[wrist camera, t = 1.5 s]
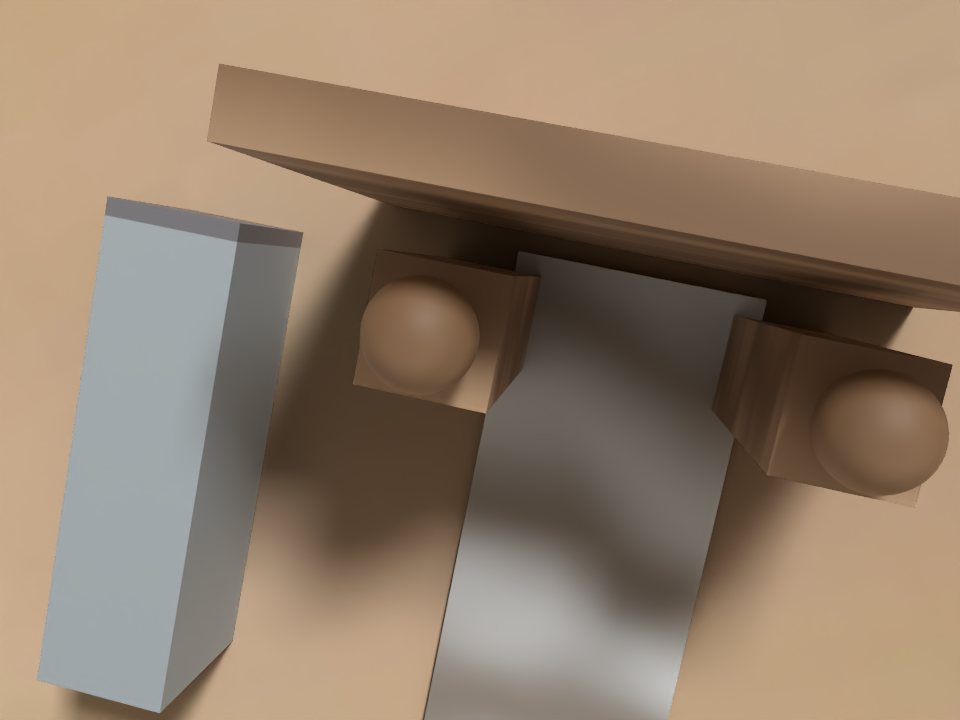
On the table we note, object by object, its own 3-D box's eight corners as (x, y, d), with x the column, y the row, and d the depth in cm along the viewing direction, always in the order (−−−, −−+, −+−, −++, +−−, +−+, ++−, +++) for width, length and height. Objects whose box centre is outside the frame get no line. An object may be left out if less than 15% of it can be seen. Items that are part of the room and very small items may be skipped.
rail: (232, 641, 36) (159, 713, 30) (128, 614, 36) (37, 679, 30) (303, 232, 34) (240, 223, 28) (192, 210, 34) (107, 196, 28)
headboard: (773, 858, 34) (926, 1372, 18) (296, 731, 36) (56, 1089, 20) (924, 264, 31) (1262, 253, 15) (400, 165, 33) (219, 64, 17)
